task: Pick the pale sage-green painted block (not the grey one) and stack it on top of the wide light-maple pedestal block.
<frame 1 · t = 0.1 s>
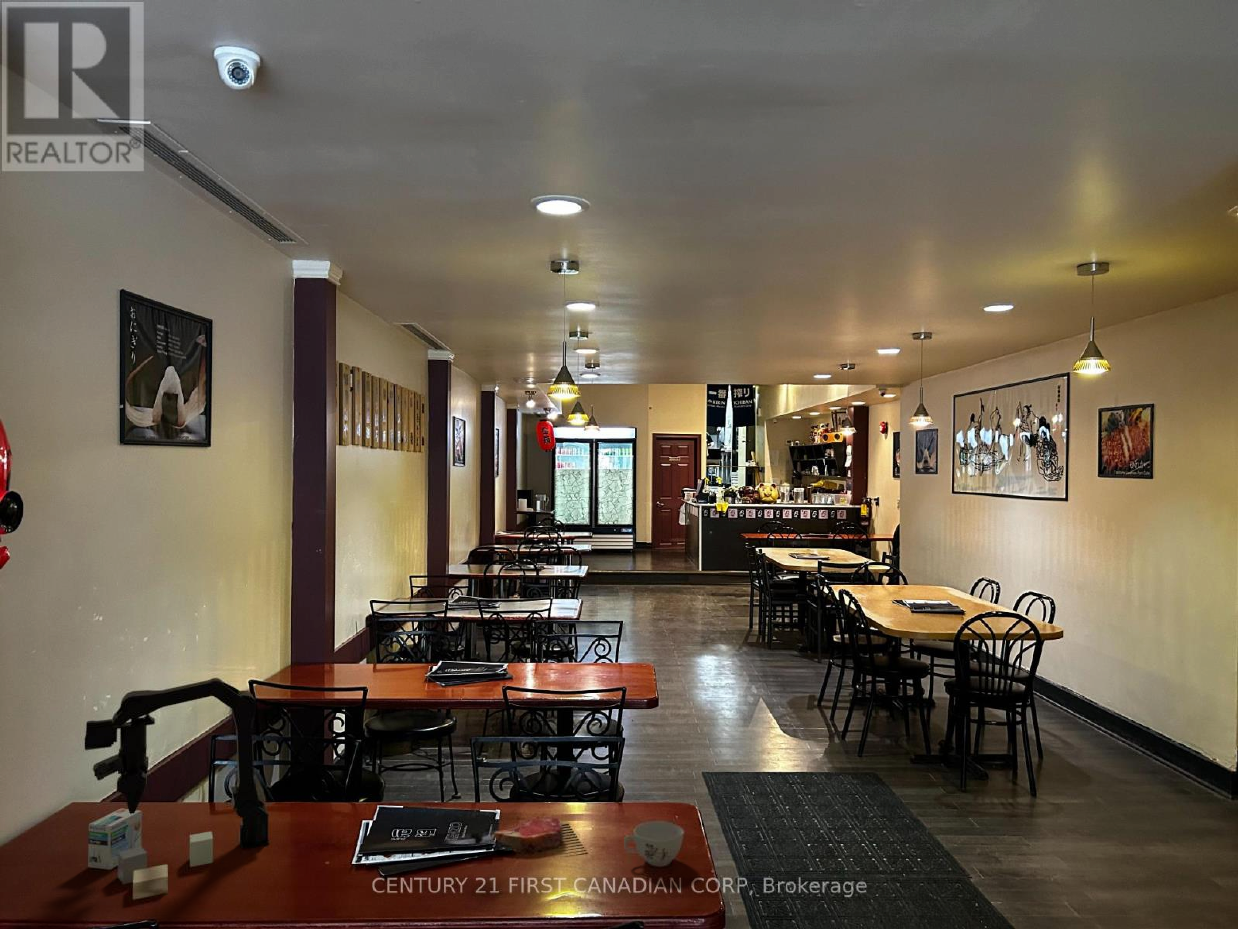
hand: (133, 807, 212), 15 cm above the table, fingers open, 9 cm apart
maple base: (150, 890, 199), on the table
teacup: (653, 862, 214), on the table
grey block: (132, 877, 205), on the table
steak: (532, 848, 224), on the table
light bulb box: (115, 860, 215), on the table
sage block: (201, 861, 214), on the table
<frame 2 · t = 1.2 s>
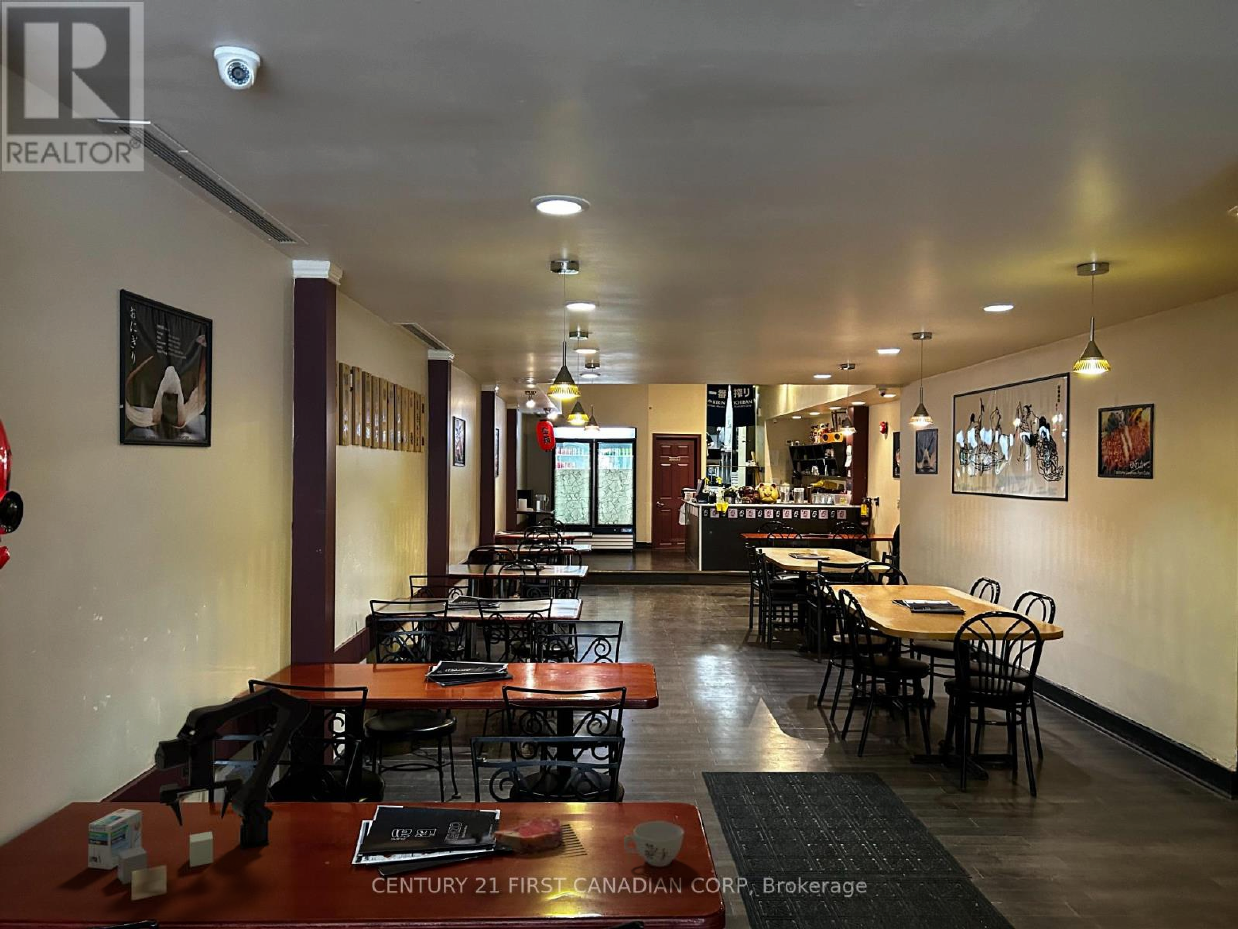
hand: (201, 822, 214), 10 cm above the table, fingers open, 9 cm apart
nothing on the table moved.
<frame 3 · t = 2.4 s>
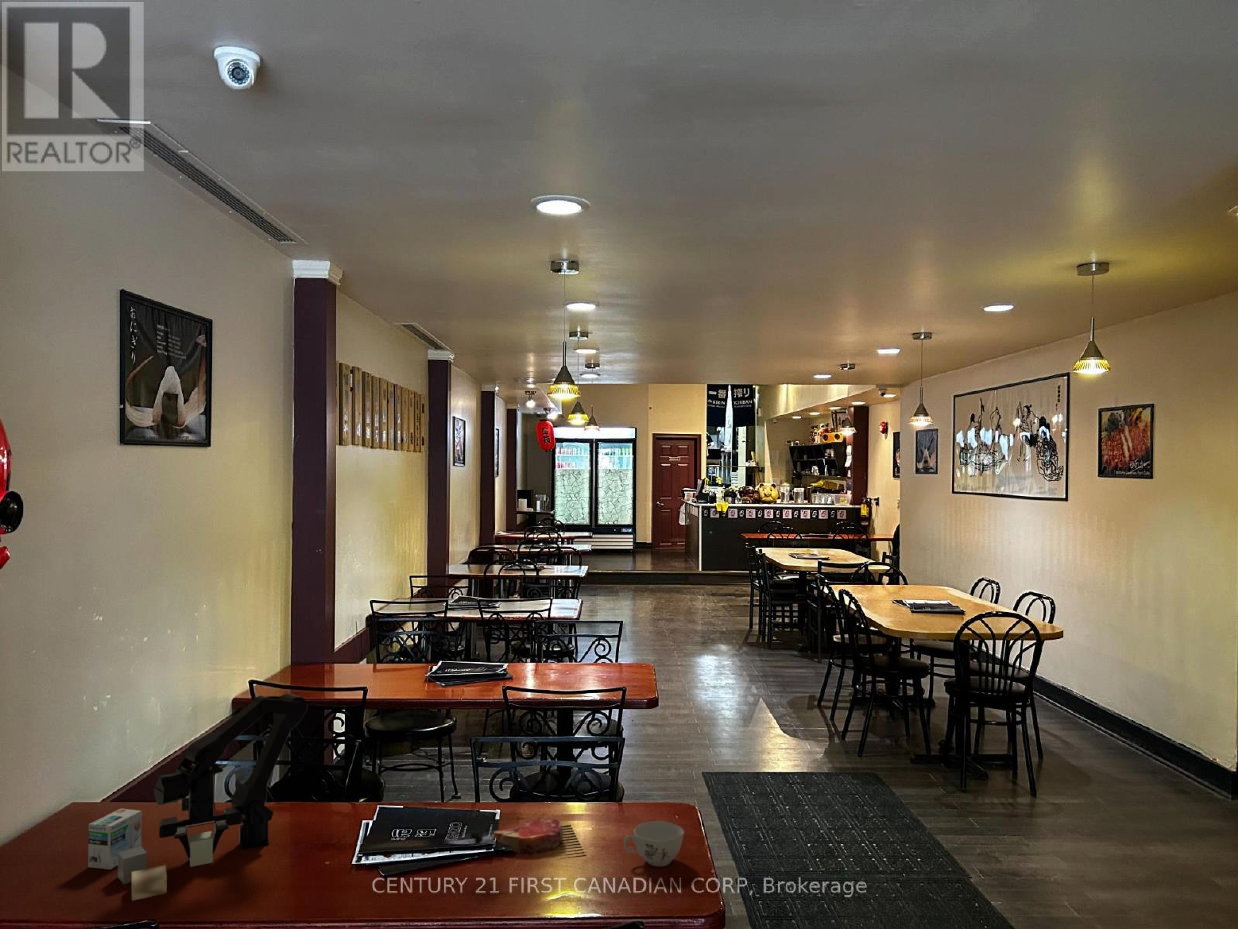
hand: (201, 855, 214), 1 cm above the table, fingers closed on sage block, 5 cm apart
sage block: (201, 860, 214), on the table, touching gripper
everything else where it was.
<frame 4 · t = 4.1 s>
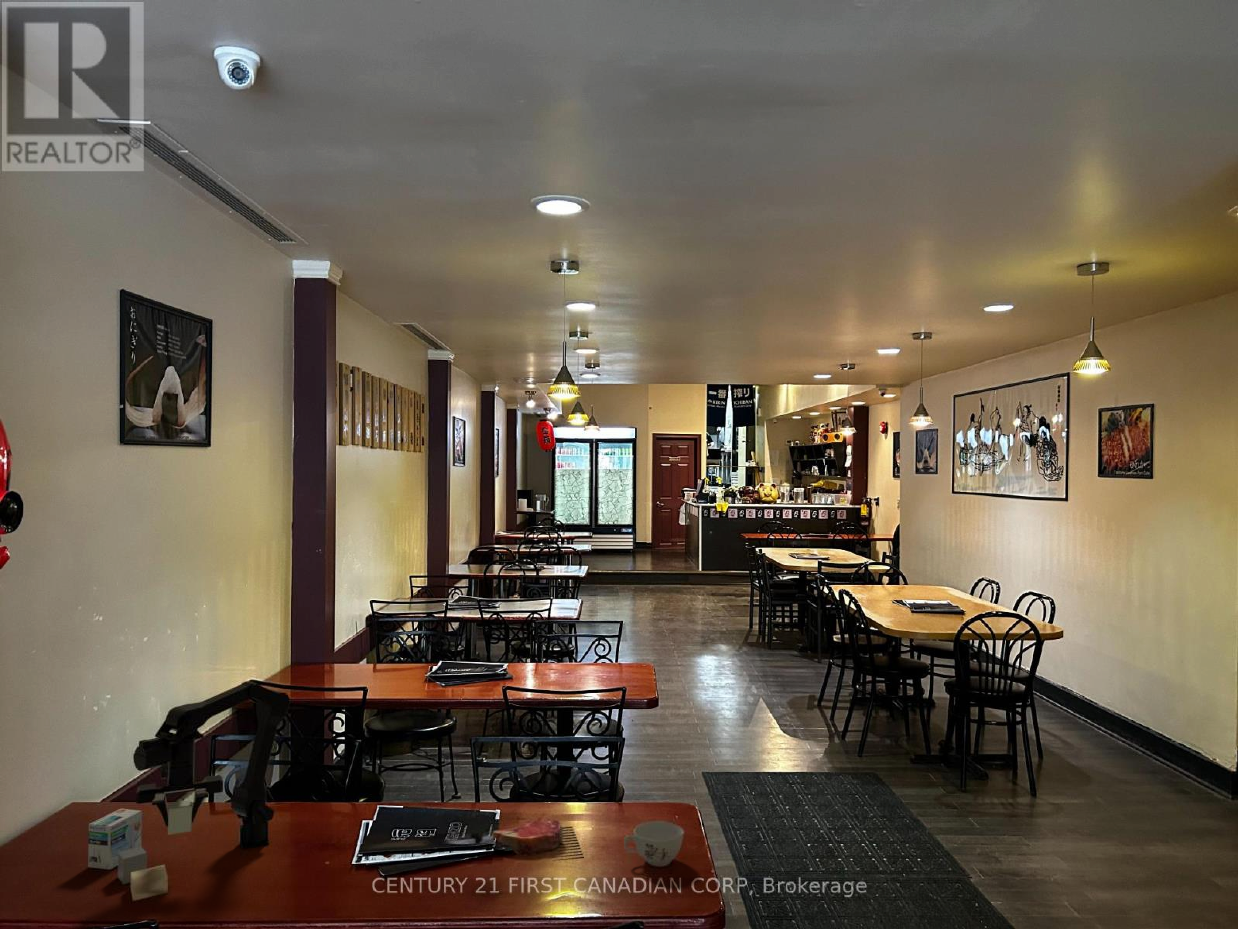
hand: (179, 824, 208), 12 cm above the table, fingers closed on sage block, 5 cm apart
sage block: (179, 829, 208), point 10 cm above the table, touching gripper
when the fingers open (7 cm above the table, at t = 5.9 s): sage block drops 2 cm, resting on maple base.
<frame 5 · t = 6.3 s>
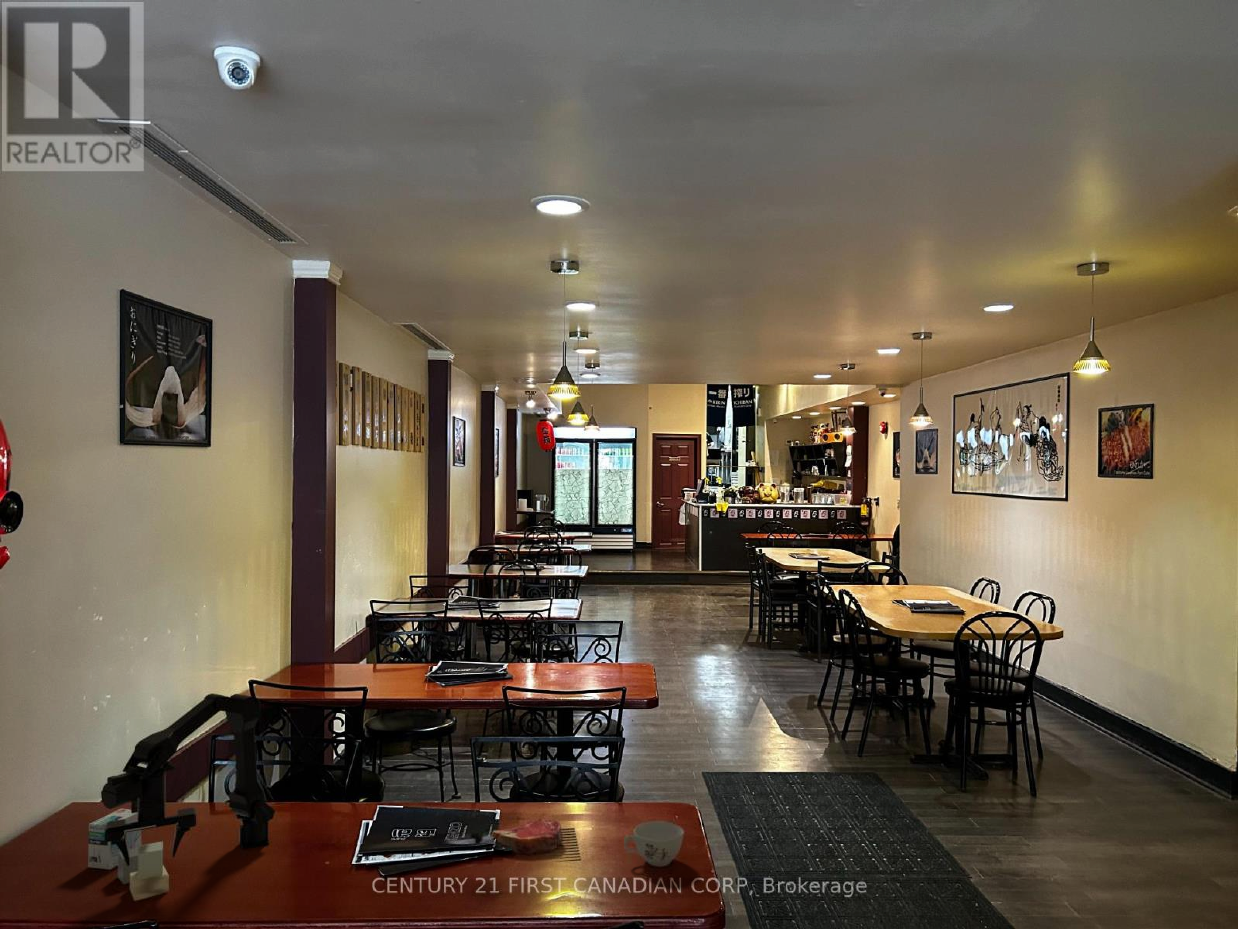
hand: (151, 861, 199), 7 cm above the table, fingers open, 9 cm apart
maple base: (149, 891, 199), on the table, touching sage block
sage block: (150, 873, 199), point 4 cm above the table, touching maple base
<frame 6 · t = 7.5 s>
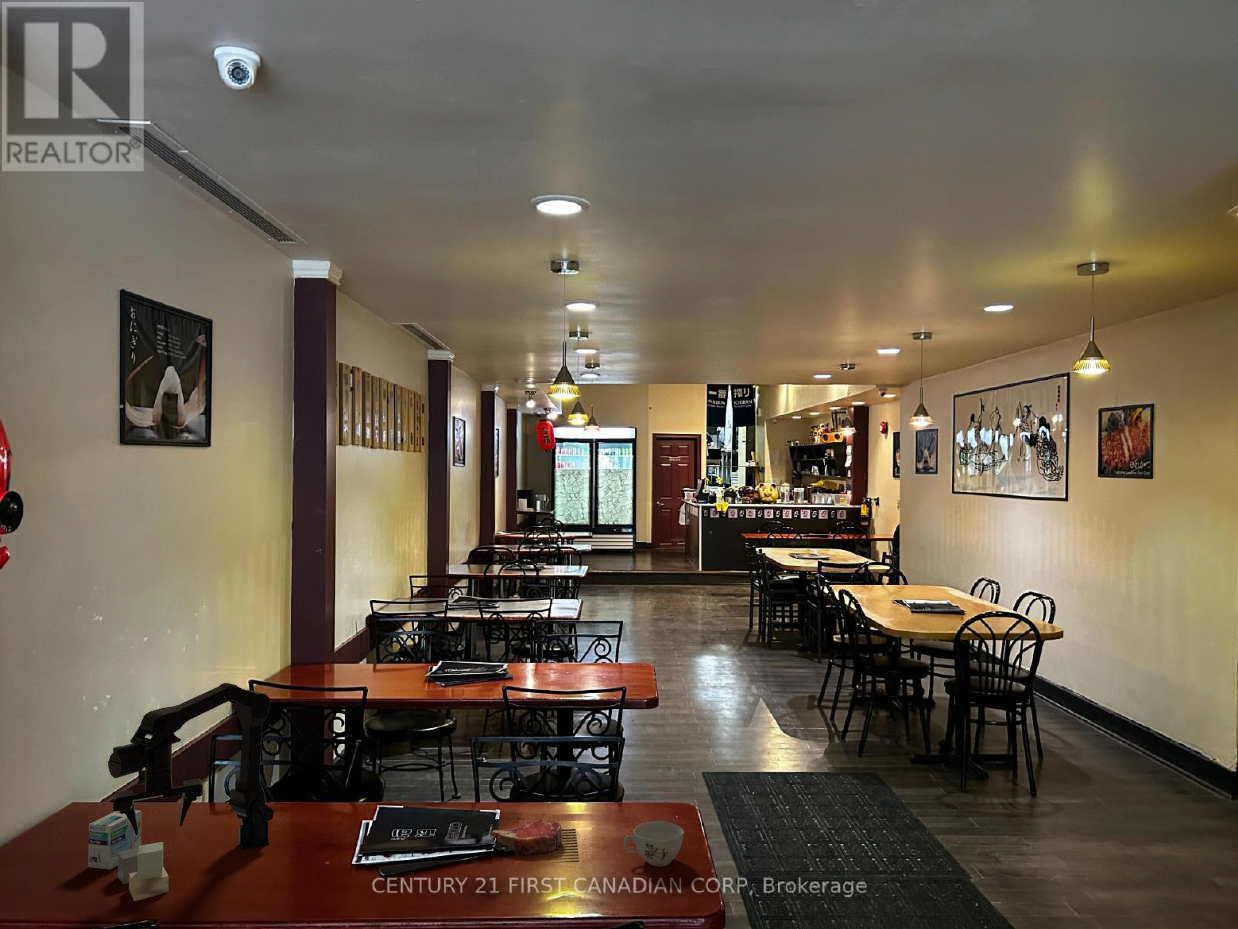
hand: (159, 830, 204), 12 cm above the table, fingers open, 9 cm apart
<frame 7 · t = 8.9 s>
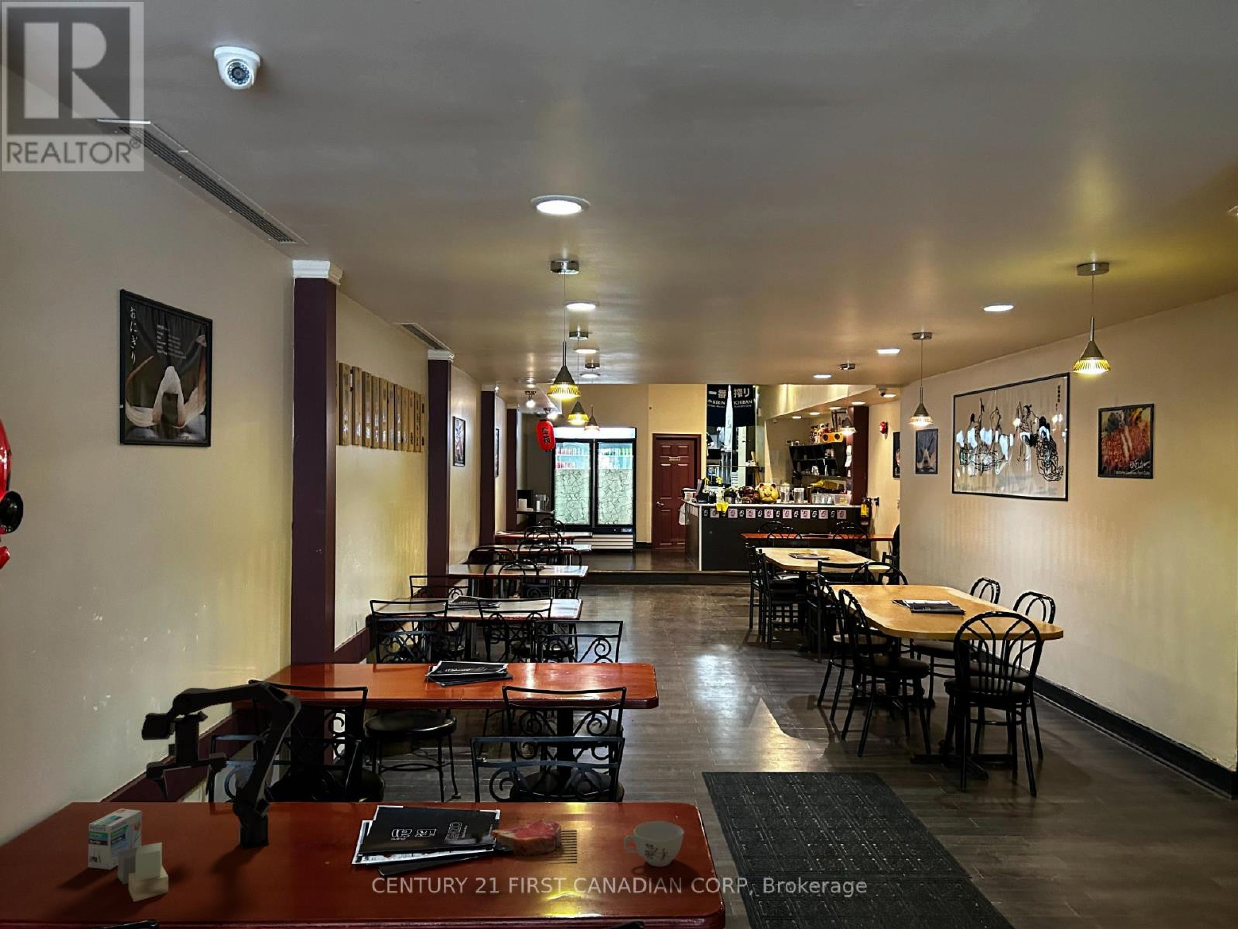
hand: (186, 798, 223), 13 cm above the table, fingers open, 9 cm apart
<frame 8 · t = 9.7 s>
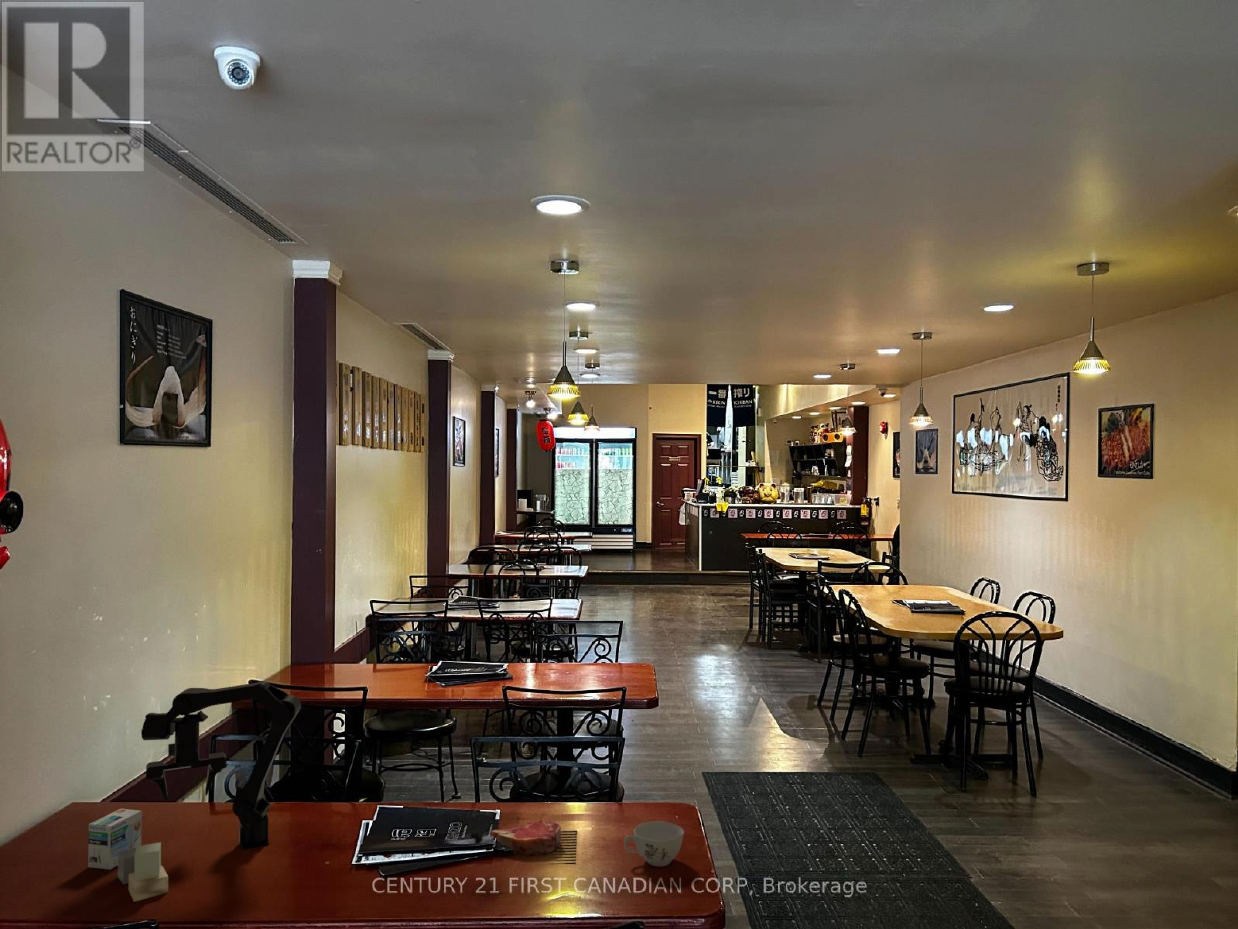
hand: (186, 798, 223), 13 cm above the table, fingers open, 9 cm apart
maple base: (148, 892, 198), on the table
sage block: (147, 874, 199), point 4 cm above the table
at the end: sage block 0.4 cm off-centre on the maple base, point 4.0 cm above the maple base's base; sage block tilted 0°; maple base moved 0.9 cm from its start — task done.
